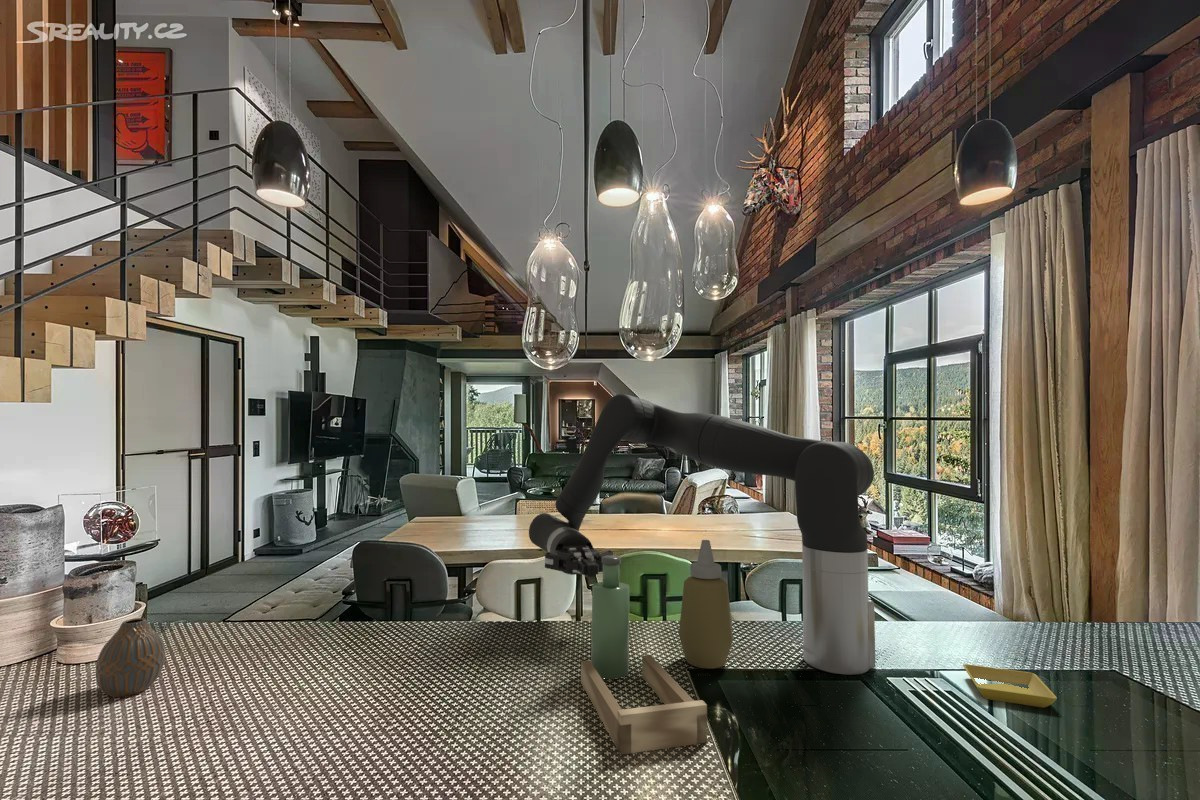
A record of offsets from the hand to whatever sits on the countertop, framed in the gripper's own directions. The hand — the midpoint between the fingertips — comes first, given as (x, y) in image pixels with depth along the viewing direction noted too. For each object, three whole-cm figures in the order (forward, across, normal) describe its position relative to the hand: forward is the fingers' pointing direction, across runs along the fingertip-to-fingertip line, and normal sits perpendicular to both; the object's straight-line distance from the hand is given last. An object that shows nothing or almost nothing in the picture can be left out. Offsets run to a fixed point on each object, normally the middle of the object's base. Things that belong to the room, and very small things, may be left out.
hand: (592, 571), depth 91 cm
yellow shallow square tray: (+29, +50, +12) cm, 59 cm away
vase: (+2, -62, +12) cm, 63 cm away
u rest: (+22, 0, +12) cm, 25 cm away
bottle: (+10, 0, +12) cm, 16 cm away
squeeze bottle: (+10, +15, +12) cm, 22 cm away
